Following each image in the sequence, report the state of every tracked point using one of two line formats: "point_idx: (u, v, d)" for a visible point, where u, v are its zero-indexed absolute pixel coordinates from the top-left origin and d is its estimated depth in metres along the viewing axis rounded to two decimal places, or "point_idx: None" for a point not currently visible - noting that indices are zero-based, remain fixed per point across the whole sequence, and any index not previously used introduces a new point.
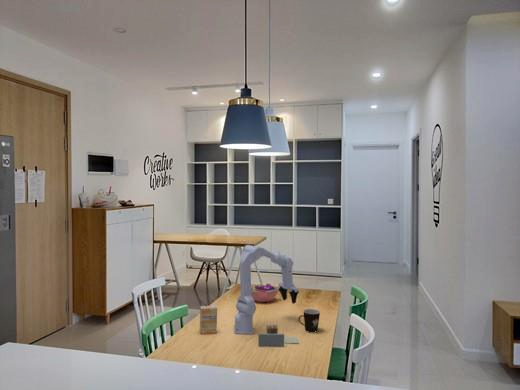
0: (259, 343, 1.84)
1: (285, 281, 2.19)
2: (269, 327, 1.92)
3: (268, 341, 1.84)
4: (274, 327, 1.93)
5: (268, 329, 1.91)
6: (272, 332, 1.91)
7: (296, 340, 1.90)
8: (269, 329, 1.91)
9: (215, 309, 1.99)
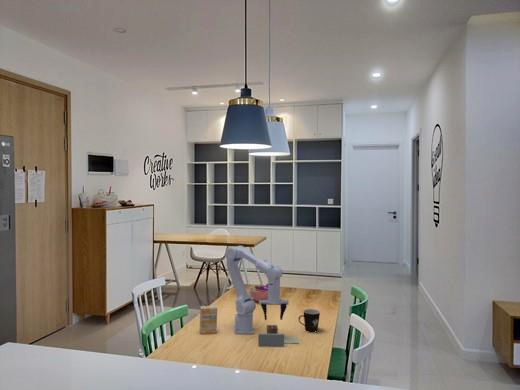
0: (259, 343, 1.84)
1: None
2: (269, 327, 1.92)
3: (268, 341, 1.84)
4: (274, 327, 1.93)
5: (268, 329, 1.91)
6: (272, 332, 1.91)
7: (296, 340, 1.90)
8: (269, 329, 1.91)
9: (215, 309, 1.99)
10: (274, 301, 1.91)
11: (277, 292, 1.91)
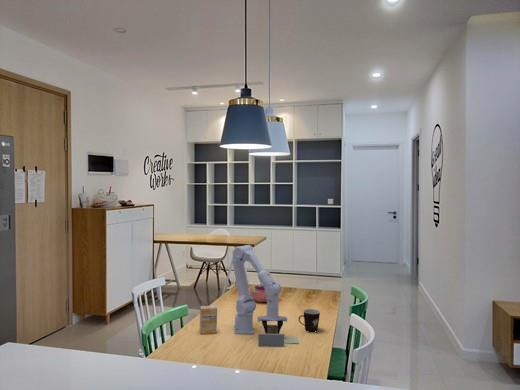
0: (259, 343, 1.84)
1: None
2: (269, 327, 1.92)
3: (268, 341, 1.84)
4: (274, 327, 1.93)
5: (268, 329, 1.91)
6: (272, 332, 1.91)
7: (296, 340, 1.90)
8: (269, 329, 1.91)
9: (215, 309, 1.99)
10: (272, 318, 1.91)
11: (276, 309, 1.91)
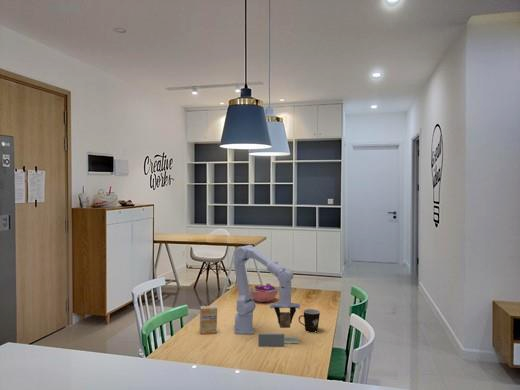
0: (259, 343, 1.84)
1: None
2: (282, 314, 1.91)
3: (268, 341, 1.84)
4: (287, 314, 1.91)
5: (281, 316, 1.89)
6: (285, 319, 1.89)
7: (296, 340, 1.90)
8: (282, 316, 1.89)
9: (215, 309, 1.99)
10: (285, 304, 1.89)
11: (289, 295, 1.90)
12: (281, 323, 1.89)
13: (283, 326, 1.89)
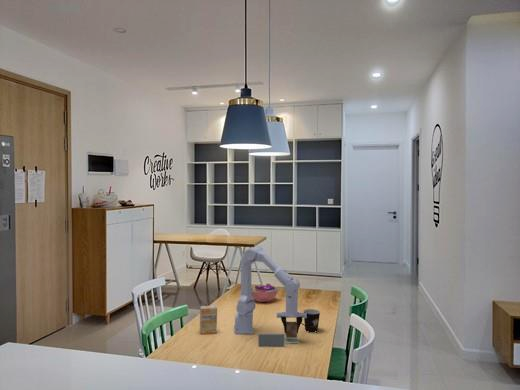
0: (259, 343, 1.84)
1: None
2: (288, 324, 1.90)
3: (268, 341, 1.84)
4: (293, 324, 1.90)
5: (287, 326, 1.88)
6: (291, 328, 1.88)
7: (296, 340, 1.90)
8: (288, 326, 1.88)
9: (215, 309, 1.99)
10: (292, 314, 1.88)
11: (295, 305, 1.89)
12: (288, 333, 1.88)
13: (290, 336, 1.88)
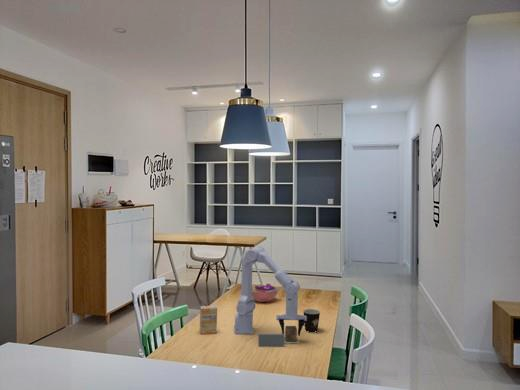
0: (259, 343, 1.84)
1: None
2: (288, 328, 1.90)
3: (268, 341, 1.84)
4: (293, 328, 1.90)
5: (287, 330, 1.88)
6: (291, 333, 1.88)
7: None
8: (288, 330, 1.88)
9: (215, 309, 1.99)
10: (292, 317, 1.88)
11: (295, 307, 1.89)
12: (287, 337, 1.88)
13: (289, 340, 1.88)
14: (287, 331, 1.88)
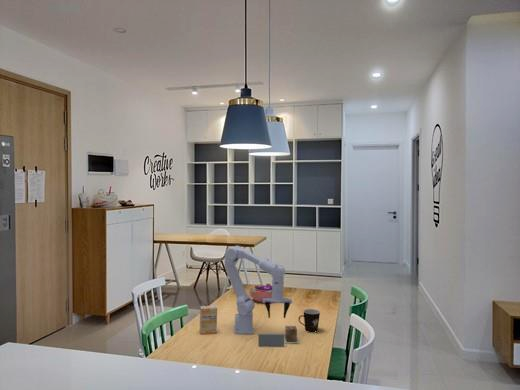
0: (259, 343, 1.84)
1: None
2: (288, 328, 1.90)
3: (268, 341, 1.84)
4: (293, 328, 1.90)
5: (287, 330, 1.88)
6: (291, 333, 1.88)
7: None
8: (288, 330, 1.88)
9: (215, 309, 1.99)
10: (277, 299, 1.95)
11: (282, 290, 1.96)
12: (287, 337, 1.88)
13: (289, 340, 1.88)
14: (287, 331, 1.88)
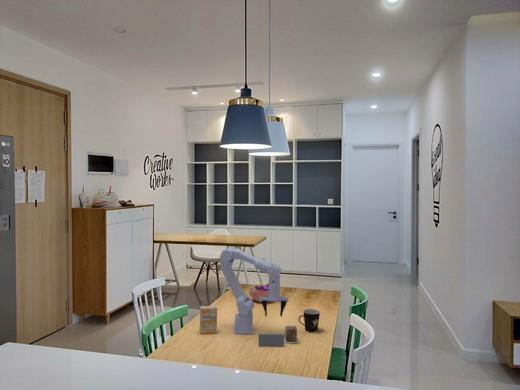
0: (259, 343, 1.84)
1: None
2: (288, 328, 1.90)
3: (268, 341, 1.84)
4: (293, 328, 1.90)
5: (287, 330, 1.88)
6: (291, 333, 1.88)
7: None
8: (288, 330, 1.88)
9: (215, 309, 1.99)
10: (274, 298, 1.97)
11: (278, 289, 1.98)
12: (287, 337, 1.88)
13: (289, 340, 1.88)
14: (287, 331, 1.88)
